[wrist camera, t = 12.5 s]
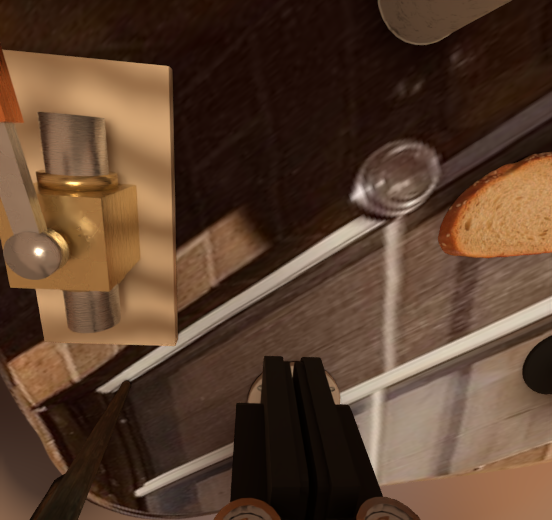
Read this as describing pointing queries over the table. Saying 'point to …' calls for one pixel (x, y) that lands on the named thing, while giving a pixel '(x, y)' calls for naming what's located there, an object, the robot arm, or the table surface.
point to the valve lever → (23, 198)
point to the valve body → (83, 220)
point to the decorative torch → (81, 468)
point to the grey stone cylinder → (432, 17)
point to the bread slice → (503, 212)
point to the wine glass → (539, 367)
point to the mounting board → (131, 170)
